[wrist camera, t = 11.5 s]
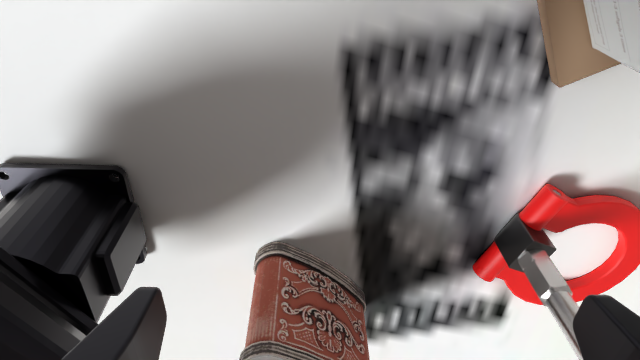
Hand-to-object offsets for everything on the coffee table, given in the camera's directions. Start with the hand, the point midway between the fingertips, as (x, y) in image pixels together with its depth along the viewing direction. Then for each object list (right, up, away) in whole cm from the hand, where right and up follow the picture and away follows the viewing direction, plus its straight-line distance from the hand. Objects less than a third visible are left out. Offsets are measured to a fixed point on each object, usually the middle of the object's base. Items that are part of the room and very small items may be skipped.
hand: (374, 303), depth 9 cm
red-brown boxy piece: (-2, -4, +18) cm, 19 cm away
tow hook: (+14, -1, +17) cm, 22 cm away
